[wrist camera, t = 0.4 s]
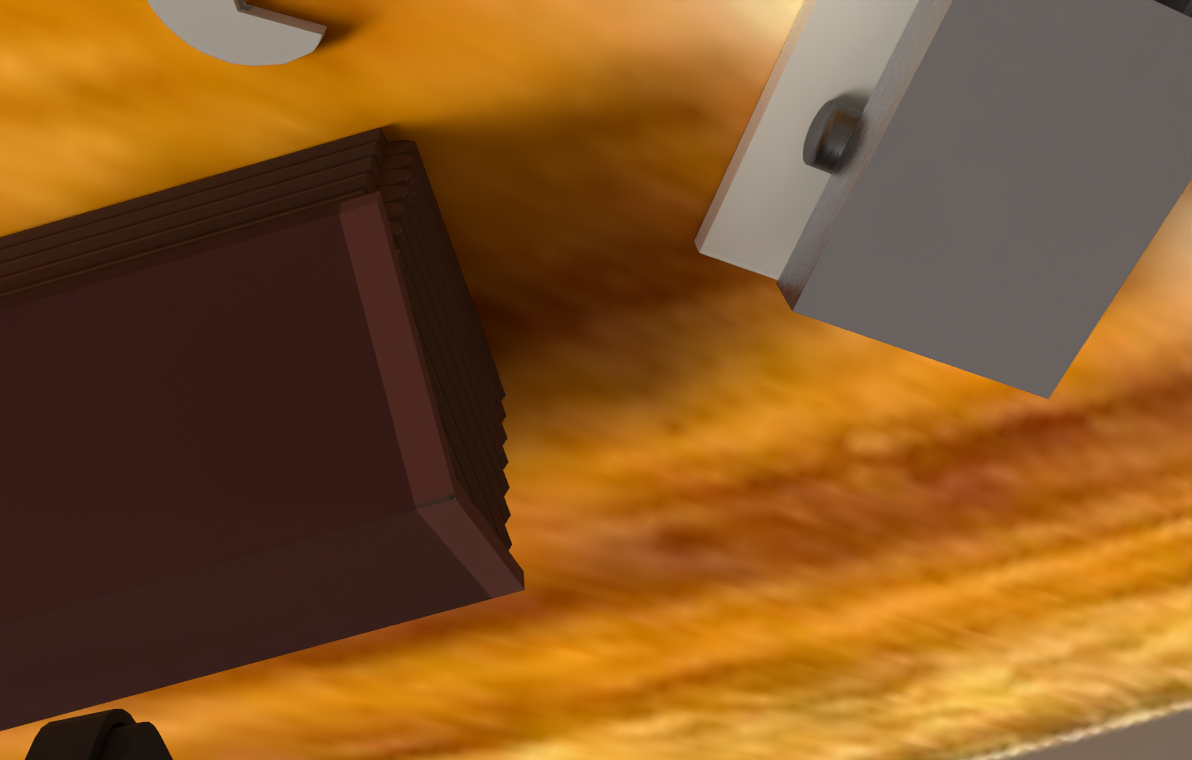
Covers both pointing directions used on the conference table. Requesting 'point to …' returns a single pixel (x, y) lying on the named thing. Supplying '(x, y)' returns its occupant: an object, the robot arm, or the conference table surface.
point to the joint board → (797, 129)
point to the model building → (240, 428)
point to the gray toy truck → (999, 181)
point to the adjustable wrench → (239, 30)
